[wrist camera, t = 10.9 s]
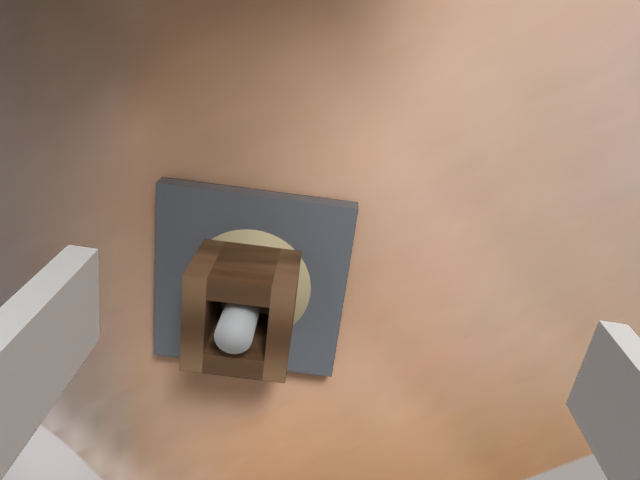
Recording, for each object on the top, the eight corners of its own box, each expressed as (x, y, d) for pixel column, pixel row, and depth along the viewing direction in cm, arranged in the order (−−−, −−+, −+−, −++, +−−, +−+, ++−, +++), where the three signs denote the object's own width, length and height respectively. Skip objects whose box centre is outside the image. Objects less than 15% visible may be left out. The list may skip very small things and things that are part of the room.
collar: (204, 238, 40) (182, 275, 35) (302, 250, 40) (296, 289, 35) (200, 323, 43) (179, 370, 37) (291, 334, 43) (284, 383, 37)
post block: (162, 177, 40) (119, 218, 32) (357, 202, 40) (362, 249, 32) (159, 344, 45) (121, 414, 38) (331, 365, 46) (330, 439, 38)
